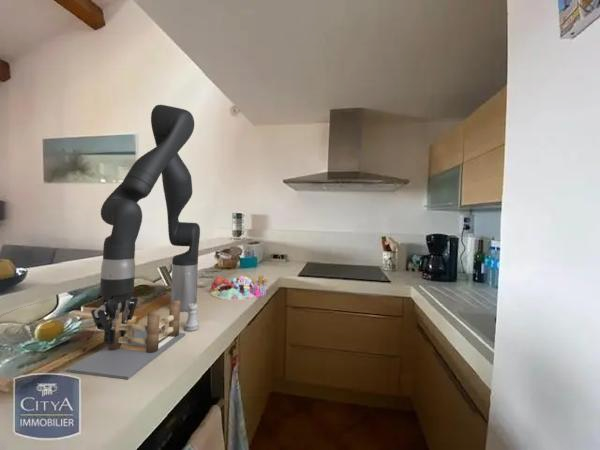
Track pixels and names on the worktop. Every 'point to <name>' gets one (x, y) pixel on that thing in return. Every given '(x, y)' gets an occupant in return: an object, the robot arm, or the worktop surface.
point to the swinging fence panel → (131, 329)
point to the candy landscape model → (239, 288)
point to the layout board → (122, 358)
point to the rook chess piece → (192, 318)
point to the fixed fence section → (154, 326)
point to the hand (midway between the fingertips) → (114, 340)
